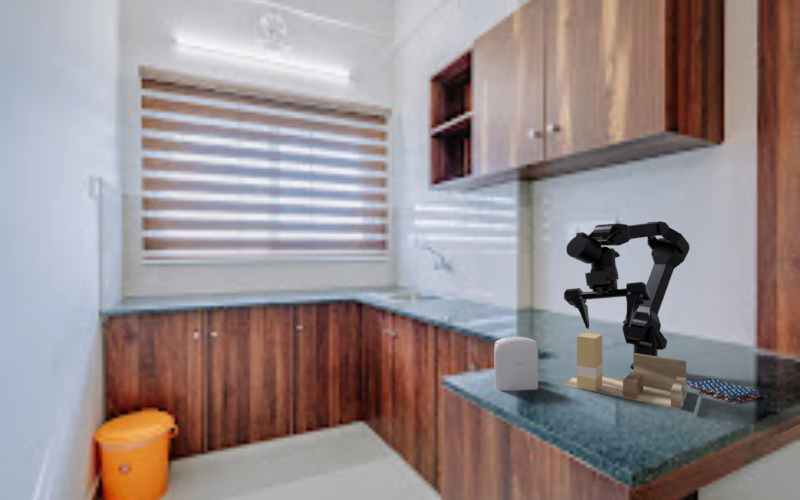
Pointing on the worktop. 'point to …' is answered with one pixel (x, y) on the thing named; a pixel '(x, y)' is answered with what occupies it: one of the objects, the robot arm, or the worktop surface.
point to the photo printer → (516, 364)
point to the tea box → (589, 361)
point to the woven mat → (724, 390)
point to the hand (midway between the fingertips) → (607, 327)
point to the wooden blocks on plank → (649, 382)
